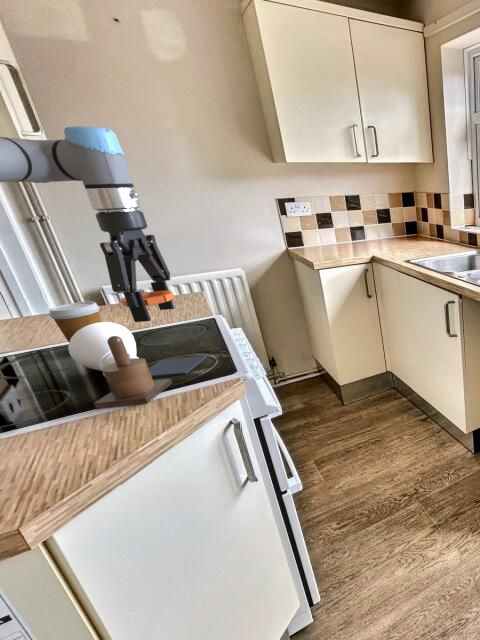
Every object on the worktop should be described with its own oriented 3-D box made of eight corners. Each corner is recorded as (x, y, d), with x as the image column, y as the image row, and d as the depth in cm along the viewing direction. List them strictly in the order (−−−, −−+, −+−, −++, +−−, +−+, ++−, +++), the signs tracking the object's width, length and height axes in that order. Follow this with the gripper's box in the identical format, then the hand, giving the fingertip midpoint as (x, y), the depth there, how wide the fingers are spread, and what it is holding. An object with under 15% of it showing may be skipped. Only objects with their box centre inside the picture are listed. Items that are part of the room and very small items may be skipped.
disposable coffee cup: (68, 348, 114) (49, 306, 110) (115, 339, 120) (98, 299, 115) (64, 358, 107) (43, 313, 103) (113, 349, 113) (96, 306, 108)
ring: (114, 308, 89) (112, 302, 89) (139, 298, 97) (137, 292, 97) (160, 305, 91) (157, 298, 90) (181, 295, 99) (179, 289, 98)
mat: (136, 379, 95) (136, 377, 94) (162, 361, 104) (161, 359, 104) (186, 374, 96) (185, 372, 96) (207, 357, 105) (206, 355, 105)
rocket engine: (126, 340, 88) (94, 312, 96) (82, 387, 84) (53, 354, 93) (178, 363, 97) (146, 336, 106) (141, 406, 94) (110, 375, 102)
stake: (96, 408, 82) (68, 346, 77) (126, 387, 90) (103, 330, 86) (147, 403, 84) (123, 342, 79) (172, 383, 92) (152, 326, 87)
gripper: (102, 213, 78) (145, 328, 86) (167, 206, 97) (197, 301, 106) (55, 215, 77) (103, 332, 85) (131, 208, 96) (164, 303, 104)
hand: (155, 314), depth 95 cm, fingers closed on ring, 9 cm apart
